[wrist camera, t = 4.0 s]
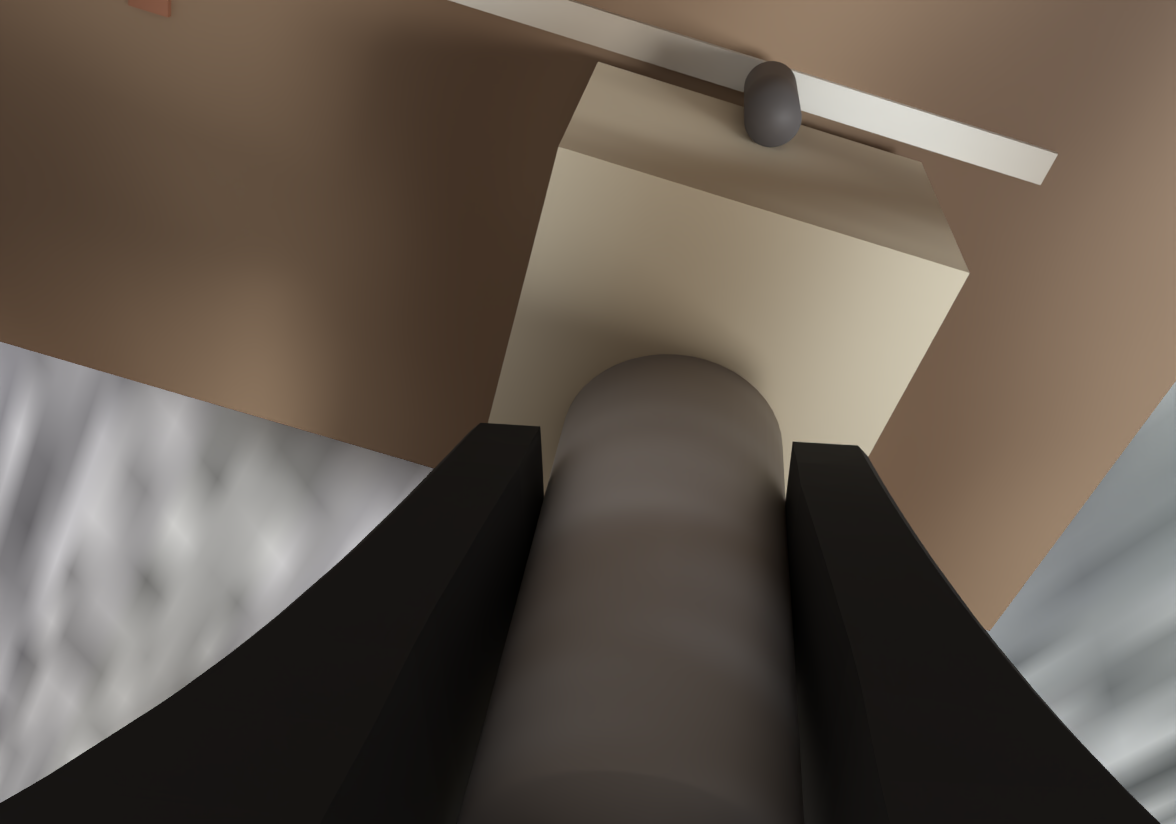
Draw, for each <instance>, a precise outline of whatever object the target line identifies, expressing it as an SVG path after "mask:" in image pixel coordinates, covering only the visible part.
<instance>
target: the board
mask: <svg viewBox="0 0 1176 824" xmlns="http://www.w3.org/2000/svg"><path fill="white" fill-rule="evenodd" d="M767 61H777V62H781V63H783V64H785V65H786V66H788V67H789V68H790V69H791V70H792V72H793V73H794V75H795V78H796V83H797V89H798V95H799V101H800V107H801V114H802V121H801V125H803V126H806V127H810V128H813V129H816V130H819V131H822V132H826V133H829V134H832V135H835V136H838V137H842V138H845V139H848V140H851V141H854V142H858V143H861V144H864V145H867V146H870V147H874V148H877V149H880V150H883V151H886V152H890V153H893V154H896V155H899V156H903V157H906V158H909V159H912V160H915V161H919V162H922V165H923V167H924V169H925V172H926V174H927V176H928V179H929V181H930V183H931V185H932V188H933V190H934V192H935V195H936V197H937V199H938V201H939V204H940V206H941V208H942V211H943V213H944V215H945V218H946V220H947V222H948V224H949V227H950V229H951V231H952V234H953V236H954V238H955V240H956V243H957V245H958V247H959V250H960V252H961V254H962V257H963V259H964V261H965V263H966V266H967V268H968V270H969V275H968V277H967V279H966V281H965V283H964V284H963V286H962V288H961V290H960V292H959V293H958V295H957V297H956V299H955V301H954V302H953V304H952V306H951V308H950V310H949V312H948V313H947V315H946V317H945V319H944V321H943V322H942V324H941V326H940V328H939V330H938V331H937V333H936V335H935V337H934V339H933V340H932V342H931V344H930V346H929V348H928V350H927V351H926V353H925V355H924V357H923V359H922V360H921V362H920V364H919V366H918V368H917V369H916V371H915V373H914V375H913V377H912V378H911V380H910V382H909V384H908V386H907V388H906V389H905V391H904V393H903V395H902V397H901V398H900V400H899V402H898V404H897V406H896V407H895V409H894V411H893V413H892V415H891V417H890V418H889V420H888V422H887V424H886V426H885V427H884V429H883V431H882V433H881V435H880V436H879V438H878V440H877V442H876V444H875V445H874V447H873V449H872V451H871V453H870V455H869V456H868V457H869V459H870V461H871V463H872V464H873V466H874V468H875V470H876V471H877V473H878V475H879V476H880V478H881V480H882V481H883V483H884V485H885V486H886V488H887V490H888V491H889V493H890V495H891V496H892V498H893V499H894V501H895V503H896V504H897V506H898V507H899V509H900V511H901V512H902V514H903V515H904V517H905V518H906V520H907V521H908V523H909V524H910V526H911V527H912V529H913V530H914V532H915V533H916V535H917V536H918V538H919V540H920V541H921V542H922V544H923V545H924V547H925V548H926V550H927V551H928V553H929V554H930V556H931V557H932V558H933V560H934V561H935V563H936V564H937V566H938V567H939V568H940V570H941V571H942V572H943V574H944V575H945V577H946V578H947V579H948V581H949V582H950V583H951V585H952V586H953V587H954V589H955V590H956V592H957V593H958V594H959V596H960V597H961V598H962V600H963V601H964V603H965V604H966V605H967V607H968V608H969V609H970V611H971V612H972V613H973V615H974V616H975V617H976V619H977V620H978V621H979V622H980V624H981V625H982V626H983V628H984V629H985V630H989V631H990V630H991V628H992V627H993V626H994V624H995V623H996V622H997V620H998V619H999V618H1000V616H1001V615H1002V614H1003V612H1004V611H1005V610H1006V608H1007V607H1008V606H1009V604H1010V603H1011V602H1012V600H1013V599H1014V598H1015V596H1016V595H1017V594H1018V592H1019V591H1020V589H1021V588H1022V587H1023V585H1024V584H1025V583H1026V581H1027V580H1028V579H1029V577H1030V576H1031V575H1032V573H1033V572H1034V571H1035V569H1036V568H1037V567H1038V565H1039V564H1040V563H1041V561H1042V560H1043V559H1044V557H1045V556H1046V555H1047V553H1048V552H1049V551H1050V549H1051V548H1052V546H1053V545H1054V544H1055V542H1056V541H1057V540H1058V538H1059V537H1060V536H1061V534H1062V533H1063V532H1064V530H1065V529H1066V528H1067V526H1068V525H1069V524H1070V522H1071V521H1072V520H1073V518H1074V517H1075V516H1076V514H1077V513H1078V512H1079V510H1080V509H1081V507H1082V506H1083V505H1084V503H1085V502H1086V501H1087V499H1088V498H1089V497H1090V495H1091V494H1092V493H1093V491H1094V490H1095V489H1096V487H1097V486H1098V485H1099V483H1100V482H1101V481H1102V479H1103V478H1104V477H1105V475H1106V474H1107V473H1108V471H1109V470H1110V469H1111V467H1112V466H1113V464H1114V463H1115V462H1116V460H1117V459H1118V458H1119V456H1120V455H1121V454H1122V452H1123V451H1124V450H1125V448H1126V447H1127V446H1128V444H1129V443H1130V442H1131V440H1132V439H1133V438H1134V436H1135V435H1136V434H1137V432H1138V431H1139V430H1140V428H1141V427H1142V425H1143V424H1144V423H1145V421H1146V420H1147V419H1148V417H1149V416H1150V415H1151V413H1152V412H1153V411H1154V409H1155V408H1156V407H1157V405H1158V404H1159V403H1160V401H1161V400H1162V399H1163V397H1164V396H1165V395H1166V393H1167V392H1168V391H1169V389H1170V388H1171V387H1172V385H1173V384H1174V382H1175V381H1176V0H0V342H4V343H7V344H11V345H14V346H17V347H21V348H24V349H28V350H31V351H34V352H38V353H41V354H45V355H48V356H52V357H55V358H58V359H62V360H65V361H69V362H72V363H75V364H79V365H82V366H86V367H89V368H93V369H96V370H99V371H103V372H106V373H110V374H113V375H117V376H120V377H123V378H127V379H130V380H134V381H137V382H140V383H144V384H147V385H151V386H154V387H158V388H161V389H164V390H168V391H171V392H175V393H178V394H182V395H185V396H188V397H192V398H195V399H199V400H202V401H205V402H209V403H212V404H216V405H219V406H223V407H226V408H229V409H233V410H236V411H240V412H243V413H246V414H250V415H253V416H257V417H260V418H264V419H267V420H270V421H274V422H277V423H281V424H284V425H288V426H291V427H294V428H298V429H301V430H305V431H308V432H311V433H315V434H318V435H322V436H325V437H329V438H332V439H335V440H339V441H342V442H346V443H349V444H352V445H356V446H359V447H363V448H366V449H370V450H373V451H376V452H380V453H383V454H387V455H390V456H394V457H397V458H400V459H404V460H407V461H411V462H414V463H417V464H421V465H424V466H428V467H431V468H435V467H436V466H437V465H438V464H439V463H440V462H441V461H442V460H443V459H444V458H445V457H446V456H447V455H448V454H449V453H450V452H451V450H452V449H453V448H454V447H455V446H456V445H457V444H458V443H459V442H460V441H461V440H462V439H463V438H464V437H465V436H466V435H467V434H468V433H469V432H470V431H471V430H472V429H473V428H475V427H476V426H477V425H478V424H479V423H488V420H489V417H490V413H491V409H492V405H493V401H494V397H495V393H496V389H497V385H498V381H499V377H500V373H501V370H502V366H503V362H504V358H505V354H506V350H507V346H508V342H509V338H510V334H511V330H512V326H513V323H514V319H515V315H516V311H517V307H518V303H519V299H520V295H521V291H522V287H523V283H524V279H525V276H526V272H527V268H528V264H529V260H530V256H531V252H532V248H533V244H534V240H535V236H536V233H537V229H538V225H539V221H540V217H541V213H542V209H543V205H544V201H545V197H546V193H547V189H548V186H549V182H550V178H551V174H552V170H553V166H554V162H555V158H556V154H557V150H558V146H559V144H560V142H561V140H562V138H563V136H564V134H565V131H566V129H567V127H568V125H569V123H570V121H571V119H572V116H573V114H574V112H575V110H576V108H577V106H578V104H579V101H580V99H581V97H582V95H583V93H584V91H585V89H586V86H587V84H588V82H589V80H590V78H591V76H592V74H593V71H594V69H595V67H596V65H597V63H598V62H601V63H604V64H608V65H611V66H614V67H617V68H620V69H624V70H627V71H630V72H633V73H636V74H640V75H643V76H646V77H649V78H652V79H656V80H659V81H662V82H665V83H668V84H672V85H675V86H678V87H681V88H685V89H688V90H691V91H694V92H697V93H701V94H704V95H707V96H710V97H713V98H717V99H720V100H723V101H726V102H729V103H733V104H736V105H739V106H742V107H744V84H745V80H746V78H747V76H748V74H749V73H750V71H751V70H752V69H753V68H754V67H756V66H757V65H759V64H761V63H763V62H767Z"/></svg>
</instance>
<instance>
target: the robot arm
mask: <svg viewBox="0 0 1176 824" xmlns="http://www.w3.org/2000/svg"><path fill="white" fill-rule="evenodd" d="M543 500H544V484H543V465H542V446H541V428H540V426H527V425H511V424H494V423H479V424H478V425H477V426H476V427H475V428H473V429H472V430H471V431H470V432H469V433H468V434H467V435H466V436H465V437H464V438H463V439H462V440H461V441H460V442H459V443H458V444H457V445H456V446H455V447H454V448H453V449H452V450H451V452H450V453H449V454H448V455H447V456H446V457H445V458H444V459H443V460H442V461H441V462H440V463H439V464H438V465H437V466H436V467H435V468H434V469H433V470H432V471H431V472H430V474H429V475H428V476H427V477H426V478H425V479H424V480H423V481H422V482H421V483H420V484H419V485H418V486H417V487H416V488H415V489H414V490H413V491H412V492H411V493H410V494H409V495H408V496H407V497H406V498H405V499H404V500H403V501H402V502H401V503H400V504H399V505H398V506H397V507H396V508H395V509H394V510H393V511H392V512H391V513H390V514H389V515H388V516H387V517H386V518H385V519H384V520H383V521H382V522H381V523H380V524H378V525H377V526H376V527H375V528H374V529H373V530H372V531H371V532H370V533H369V534H368V535H367V536H366V537H365V538H364V539H363V540H362V541H361V542H360V543H359V544H358V545H357V546H356V547H355V548H354V549H353V550H352V551H350V552H349V553H348V554H347V555H346V556H345V557H344V558H343V559H342V560H341V561H340V562H339V563H337V564H336V565H335V566H334V567H333V568H332V569H331V570H329V571H328V572H327V573H326V574H325V575H324V576H323V577H321V578H320V579H319V580H318V581H317V582H316V583H314V584H313V585H312V586H311V587H310V588H309V589H308V590H306V591H305V592H304V593H303V594H302V595H301V596H300V597H298V598H297V599H296V600H295V601H294V602H293V603H291V604H290V605H289V606H288V607H287V608H286V609H285V610H283V611H282V612H281V613H280V614H279V615H278V616H276V617H275V618H274V619H273V620H272V621H270V622H269V623H268V624H267V625H265V626H264V627H263V628H262V629H260V630H259V631H258V632H257V633H255V634H254V635H253V636H252V637H250V638H249V639H248V640H247V641H245V642H244V643H243V644H242V645H240V646H239V647H238V648H236V649H235V650H234V651H233V652H231V653H230V654H229V655H227V656H226V657H225V658H223V659H222V660H221V661H219V662H218V663H217V664H215V665H214V666H212V667H211V668H210V669H208V670H207V671H206V672H204V673H203V674H202V675H200V676H199V677H197V678H196V679H195V680H193V681H192V682H191V683H189V684H188V685H186V686H185V687H184V688H182V689H181V690H179V691H178V692H177V693H175V694H174V695H172V696H171V697H169V698H168V699H166V700H165V701H164V702H162V703H161V704H159V705H158V706H156V707H154V708H153V709H151V710H150V711H148V712H147V713H145V714H144V715H142V716H140V717H139V718H137V719H136V720H134V721H133V722H131V723H129V724H128V725H126V726H125V727H123V728H122V729H120V730H118V731H117V732H115V733H114V734H112V735H111V736H109V737H108V738H106V739H104V740H103V741H101V742H100V743H98V744H97V745H95V746H93V747H92V748H90V749H89V750H87V751H86V752H84V753H82V754H81V755H79V756H78V757H76V758H75V759H73V760H71V761H70V762H68V763H67V764H65V765H64V766H62V767H61V768H59V769H57V770H56V771H54V772H53V773H51V774H50V775H48V776H46V777H44V778H43V779H41V780H39V781H38V782H36V783H34V784H33V785H31V786H29V787H28V788H26V789H24V790H22V791H21V792H19V793H17V794H15V795H14V796H12V797H10V798H8V799H7V800H5V801H3V802H1V803H0V824H457V823H458V819H459V815H460V811H461V808H462V804H463V800H464V796H465V793H466V789H467V785H468V781H469V778H470V774H471V770H472V766H473V763H474V759H475V755H476V751H477V747H478V744H479V740H480V736H481V732H482V729H483V725H484V721H485V717H486V714H487V710H488V706H489V702H490V699H491V695H492V691H493V687H494V684H495V680H496V676H497V672H498V669H499V665H500V661H501V657H502V654H503V650H504V646H505V642H506V639H507V635H508V631H509V627H510V624H511V620H512V616H513V612H514V609H515V605H516V601H517V597H518V594H519V590H520V586H521V582H522V579H523V575H524V571H525V567H526V563H527V560H528V556H529V552H530V548H531V545H532V541H533V537H534V533H535V530H536V526H537V522H538V518H539V515H540V511H541V507H542V503H543ZM785 508H786V526H787V543H788V561H789V577H790V590H791V603H792V620H793V637H794V654H795V672H796V689H797V707H798V724H799V741H800V759H801V776H802V794H803V811H804V824H1160V823H1159V822H1158V821H1157V820H1156V819H1155V818H1154V817H1153V816H1152V815H1151V814H1150V813H1149V812H1148V811H1147V810H1146V809H1145V808H1144V807H1143V806H1142V805H1141V804H1140V803H1139V802H1138V801H1137V800H1136V799H1135V798H1134V797H1133V796H1132V795H1131V794H1130V793H1129V792H1128V791H1127V790H1126V789H1125V788H1124V787H1123V786H1122V785H1121V784H1120V783H1119V782H1118V781H1117V780H1116V779H1115V778H1114V777H1113V776H1112V775H1111V774H1110V772H1109V771H1108V770H1107V769H1106V768H1105V767H1104V766H1103V765H1102V764H1101V763H1100V762H1099V761H1098V760H1097V759H1096V758H1095V757H1094V756H1093V755H1092V754H1091V753H1090V752H1089V751H1088V749H1087V748H1086V747H1085V746H1084V745H1083V744H1082V743H1081V742H1080V741H1079V740H1078V739H1077V738H1076V737H1075V736H1074V734H1073V733H1072V732H1071V731H1070V730H1069V729H1068V728H1067V727H1066V726H1065V724H1064V723H1063V722H1062V721H1061V720H1060V719H1059V718H1058V717H1057V716H1056V714H1055V713H1054V712H1053V711H1052V710H1051V709H1050V708H1049V706H1048V705H1047V704H1046V703H1045V702H1044V701H1043V699H1042V698H1041V697H1040V696H1039V695H1038V694H1037V693H1036V691H1035V690H1034V689H1033V688H1032V687H1031V686H1030V684H1029V683H1028V682H1027V681H1026V679H1025V678H1024V677H1023V676H1022V675H1021V673H1020V672H1019V671H1018V670H1017V669H1016V667H1015V666H1014V665H1013V664H1012V663H1011V661H1010V660H1009V659H1008V658H1007V656H1006V655H1005V654H1004V653H1003V652H1002V650H1001V649H1000V648H999V647H998V646H997V644H996V643H995V642H994V640H993V639H992V638H991V637H990V635H989V634H988V633H987V631H986V630H985V629H984V628H983V626H982V625H981V624H980V622H979V621H978V620H977V619H976V617H975V616H974V615H973V613H972V612H971V611H970V609H969V608H968V607H967V605H966V604H965V603H964V601H963V600H962V598H961V597H960V596H959V594H958V593H957V592H956V590H955V589H954V587H953V586H952V585H951V583H950V582H949V581H948V579H947V578H946V577H945V575H944V574H943V572H942V571H941V570H940V568H939V567H938V566H937V564H936V563H935V561H934V560H933V558H932V557H931V556H930V554H929V553H928V551H927V550H926V548H925V547H924V545H923V544H922V542H921V541H920V540H919V538H918V536H917V535H916V533H915V532H914V530H913V529H912V527H911V526H910V524H909V523H908V521H907V520H906V518H905V517H904V515H903V514H902V512H901V511H900V509H899V507H898V506H897V504H896V503H895V501H894V499H893V498H892V496H891V495H890V493H889V491H888V490H887V488H886V486H885V485H884V483H883V481H882V480H881V478H880V476H879V475H878V473H877V471H876V470H875V468H874V466H873V464H872V463H871V461H870V459H869V457H868V456H867V455H866V454H865V453H864V451H863V450H862V449H861V448H860V447H859V446H858V445H842V444H826V443H809V442H792V450H791V458H790V467H789V475H788V483H787V491H786V500H785Z"/></svg>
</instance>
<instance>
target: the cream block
mask: <svg viewBox="0 0 1176 824" xmlns="http://www.w3.org/2000/svg"><path fill="white" fill-rule="evenodd" d="M801 121H802V114H801V107H800V101H799V95H798V89H797V83H796V78H795V75H794V73H793V72H792V70H791V69H790V68H789V67H788V66H786V65H785V64H783V63H781V62H777V61H767V62H763V63H761V64H759V65H757V66H756V67H754V68H753V69H752V70H751V71H750V73H749V74H748V76H747V78H746V80H745V84H744V107H742V106H739V105H736V104H733V103H729V102H726V101H723V100H720V99H717V98H713V97H710V96H707V95H704V94H701V93H697V92H694V91H691V90H688V89H685V88H681V87H678V86H675V85H672V84H668V83H665V82H662V81H659V80H656V79H652V78H649V77H646V76H643V75H640V74H636V73H633V72H630V71H627V70H624V69H620V68H617V67H614V66H611V65H608V64H604V63H601V62H598V63H597V65H596V67H595V69H594V71H593V74H592V76H591V78H590V80H589V82H588V84H587V86H586V89H585V91H584V93H583V95H582V97H581V99H580V101H579V104H578V106H577V108H576V110H575V112H574V114H573V116H572V119H571V121H570V123H569V125H568V127H567V129H566V131H565V134H564V136H563V138H562V140H561V142H560V144H559V146H558V150H557V154H556V158H555V162H554V166H553V170H552V174H551V178H550V182H549V186H548V189H547V193H546V197H545V201H544V205H543V209H542V213H541V217H540V221H539V225H538V229H537V233H536V236H535V240H534V244H533V248H532V252H531V256H530V260H529V264H528V268H527V272H526V276H525V279H524V283H523V287H522V291H521V295H520V299H519V303H518V307H517V311H516V315H515V319H514V323H513V326H512V330H511V334H510V338H509V342H508V346H507V350H506V354H505V358H504V362H503V366H502V370H501V373H500V377H499V381H498V385H497V389H496V393H495V397H494V401H493V405H492V409H491V413H490V417H489V420H488V423H494V424H511V425H527V426H540V428H541V446H542V465H543V484H544V500H543V503H542V507H541V511H540V515H539V518H538V522H537V526H536V530H535V533H534V537H533V541H532V545H531V548H530V552H529V556H528V560H527V563H526V567H525V571H524V575H523V579H522V582H521V586H520V590H519V594H518V597H517V601H516V605H515V609H514V612H513V616H512V620H511V624H510V627H509V631H508V635H507V639H506V642H505V646H504V650H503V654H502V657H501V661H500V665H499V669H498V672H497V676H496V680H495V684H494V687H493V691H492V695H491V699H490V702H489V706H488V710H487V714H486V717H485V721H484V725H483V729H482V732H481V736H480V740H479V744H478V747H477V751H476V755H475V759H474V763H473V766H472V770H471V774H470V778H469V781H468V785H467V789H466V793H465V796H464V800H463V804H462V808H461V811H460V815H459V819H458V823H457V824H804V811H803V794H802V776H801V759H800V741H799V724H798V707H797V689H796V672H795V654H794V637H793V620H792V603H791V590H790V577H789V561H788V543H787V526H786V508H785V500H786V491H787V483H788V475H789V467H790V458H791V450H792V442H809V443H826V444H842V445H858V446H859V447H860V448H861V449H862V450H863V451H864V453H865V454H866V455H867V456H869V455H870V453H871V451H872V449H873V447H874V445H875V444H876V442H877V440H878V438H879V436H880V435H881V433H882V431H883V429H884V427H885V426H886V424H887V422H888V420H889V418H890V417H891V415H892V413H893V411H894V409H895V407H896V406H897V404H898V402H899V400H900V398H901V397H902V395H903V393H904V391H905V389H906V388H907V386H908V384H909V382H910V380H911V378H912V377H913V375H914V373H915V371H916V369H917V368H918V366H919V364H920V362H921V360H922V359H923V357H924V355H925V353H926V351H927V350H928V348H929V346H930V344H931V342H932V340H933V339H934V337H935V335H936V333H937V331H938V330H939V328H940V326H941V324H942V322H943V321H944V319H945V317H946V315H947V313H948V312H949V310H950V308H951V306H952V304H953V302H954V301H955V299H956V297H957V295H958V293H959V292H960V290H961V288H962V286H963V284H964V283H965V281H966V279H967V277H968V275H969V270H968V268H967V266H966V263H965V261H964V259H963V257H962V254H961V252H960V250H959V247H958V245H957V243H956V240H955V238H954V236H953V234H952V231H951V229H950V227H949V224H948V222H947V220H946V218H945V215H944V213H943V211H942V208H941V206H940V204H939V201H938V199H937V197H936V195H935V192H934V190H933V188H932V185H931V183H930V181H929V179H928V176H927V174H926V172H925V169H924V167H923V165H922V162H919V161H915V160H912V159H909V158H906V157H903V156H899V155H896V154H893V153H890V152H886V151H883V150H880V149H877V148H874V147H870V146H867V145H864V144H861V143H858V142H854V141H851V140H848V139H845V138H842V137H838V136H835V135H832V134H829V133H826V132H822V131H819V130H816V129H813V128H810V127H806V126H803V125H801Z"/></svg>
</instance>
